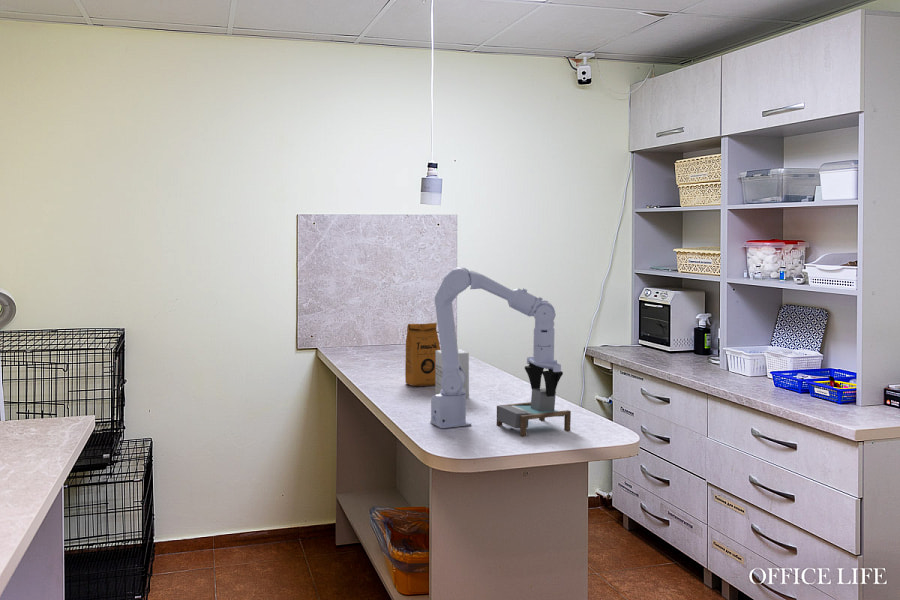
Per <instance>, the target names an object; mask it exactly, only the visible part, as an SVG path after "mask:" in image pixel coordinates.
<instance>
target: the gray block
mask: <svg viewBox="0 0 900 600" xmlns="http://www.w3.org/2000/svg"><path fill="white" fill-rule="evenodd" d="M556 393H557V390H556V391H555V395H554V396H550V397H548V396H547V395H546V388H540V389H532V388H531V397H530V399H531V400H530V402H531V408H532V409H534V410H537V411H554V410H555V405H556V397H557V396H556Z"/></svg>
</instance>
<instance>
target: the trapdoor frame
mask: <svg viewBox="0 0 900 600" xmlns="http://www.w3.org/2000/svg"><path fill="white" fill-rule="evenodd" d="M512 405H513V406H531V401H528V402H520V403H511V404H502V405H501V404H500V405H496V415H497V414H498V406H512ZM556 411H557V412H548V413H539V414H530V415H521V416H520V428H519V436H520V437H522V438H524V437H527V428H526V426H527V420H536V419H538V420H539V421H542V422H543V421H546V420H545V419H546V418H553V417H554V418H555V416H560V417H564V421H563V425H564V427H563V431H565V432H570V431H571V416H572V415H571V412H572V411H571V410H569V409H568V410H567V409H566V410H556ZM496 426H503V423H502V422H500V421H498V420H497V419H496Z"/></svg>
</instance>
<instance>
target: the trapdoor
mask: <svg viewBox="0 0 900 600" xmlns="http://www.w3.org/2000/svg"><path fill="white" fill-rule="evenodd" d="M497 406H498V405H497ZM557 411H558V410H556V409H554V411H537V410H534V409H532V408H531V406H513V405H512V406H498V414H497V413H496V421H497V420H498V421H500V422H502V424H505V425H507V426H508V427H511V428H513V429H520V416H521V415H530V414H539V413H548V412H557ZM555 417H558V418H559V417H561V416H555ZM555 417H554V418H555ZM529 420H530V419H529ZM529 420H527V426H526V429H529Z"/></svg>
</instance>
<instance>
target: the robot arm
mask: <svg viewBox="0 0 900 600" xmlns="http://www.w3.org/2000/svg"><path fill="white" fill-rule="evenodd" d="M468 287H470V288H469V290H478V289H479V290H484V291H486V292H488V293H490V294H493V295H494V296H497V297H499V298H501V299H503V300H505V301H507V304H508V306H509V308H511V309H513V310H516V311H518V312H519V313H521V314H523V315H526V316H527V317H534V327H533V350H532V351H533V353H532V355H533V356H527V357H526V364H527V365H525V366H524V370H525V372H526V373H527V377H528V380H529V383H530V388H531V390H532V389H541V382H542V376H543V379H544V384H545V385H544V386H545V389H546V395H547V396H548V397H550V396H554V395H555V391H556V392H557V387H558V384H559V382H560V380H561V378H562V376H563V375H564V372H563V371H562V365H561V363H558V360H556V359H555V322H554V320H555V318H556V310H555V307H554V306H553V304H552V303H551V302H549V301H548V300H544V299H543V297H541V296H539V297H537V296H535V295H534V294H532V293H529V292H528V289H527V288H522V289H521V288H519V287H518V288H515V289H511V288H509V287H506V286H505V285H503V284H501V283H499V282H498V281H495V280H493V279H492V278H490V277H488V276H486V275H485V274H482V273H480V272H477V271H474V270H469V269H467V268H466V267H461V266H460V267H459V266H458V267H456V268H453V269H452V270H451V271H450V272H449V273H448V274H447V275H446V276H445V277H444V278H443V279H442V281H441V283H440V286H439V288H438V290H437V291H436V293H435V296H434V305H435V313H436V323H437V331H438V339H439V343H440V349H441V354H442V372H443V375H442V379H441V388H442V389H441V391H440V394H437V395H436V394H433V395H432V397H431V402H430V421H429V423H431V425H435V426H436V427H439V428H440V429H449V428H456V427H457V428H458V427H466V426H472V422H469V421H467V419H466V418H467V417H466V416H467V401H466V400H467V398H466V391H465V390H464V388H463V384H464V383H465V379H466V376H465V373H464V371H463V370H462V368H461V363H460V359H459V355H458V349H459V348H458V340H457V332H456V326H455V317H454V309H453V308H454V307H453V302H454V300H455V299H456V298H457V297H458V296H459V294H461V293H462V292H464V291H466V290H467V289H468Z"/></svg>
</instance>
